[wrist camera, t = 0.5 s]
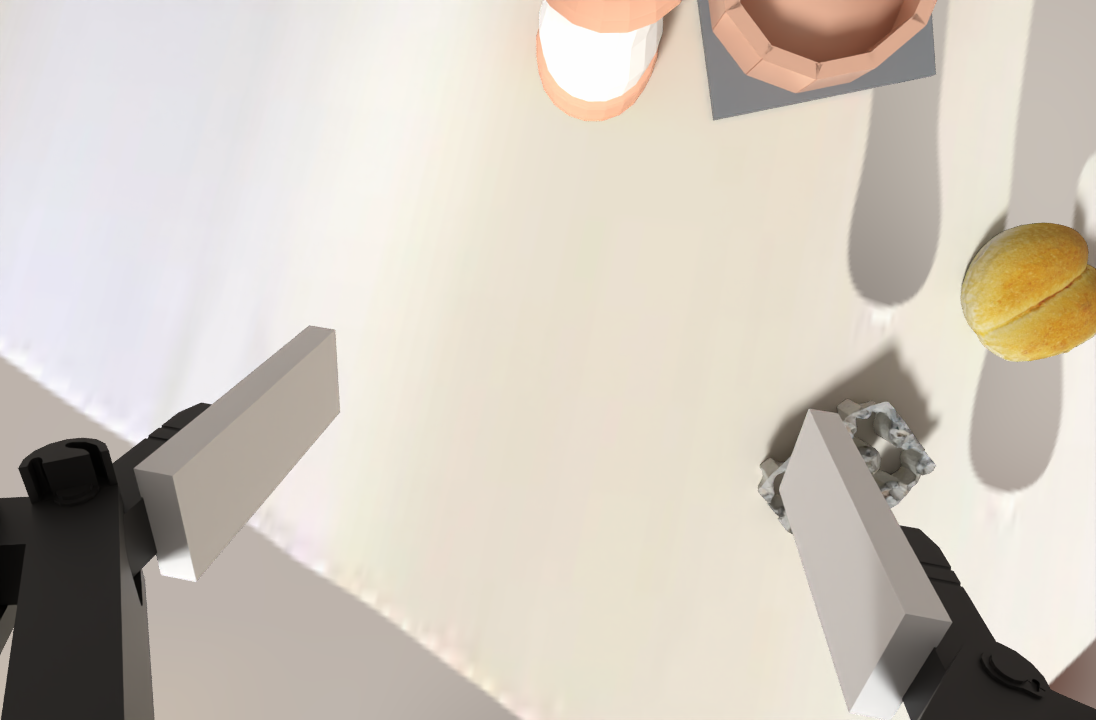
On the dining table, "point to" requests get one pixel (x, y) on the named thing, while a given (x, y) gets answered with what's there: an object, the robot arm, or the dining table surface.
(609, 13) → the pepper shaker
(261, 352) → the dining table surface
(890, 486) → the egg carton
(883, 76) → the mat
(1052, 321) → the bread roll
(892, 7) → the dish
